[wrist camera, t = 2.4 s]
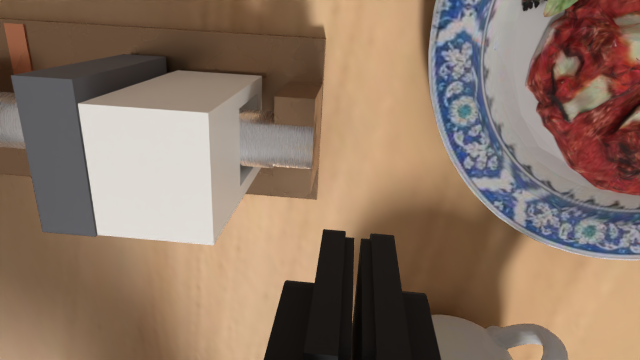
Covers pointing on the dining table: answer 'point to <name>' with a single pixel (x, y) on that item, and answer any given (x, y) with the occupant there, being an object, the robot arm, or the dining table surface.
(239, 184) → the sleeve
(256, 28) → the dining table surface
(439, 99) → the ceramic plate
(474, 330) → the teacup
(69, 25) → the linear slide
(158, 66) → the dark grey notched block
